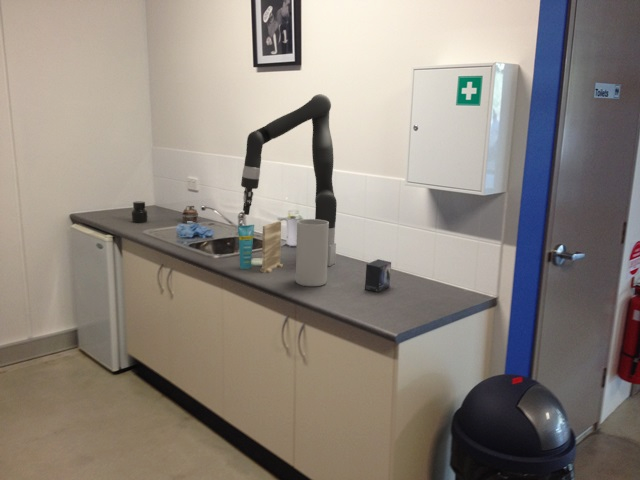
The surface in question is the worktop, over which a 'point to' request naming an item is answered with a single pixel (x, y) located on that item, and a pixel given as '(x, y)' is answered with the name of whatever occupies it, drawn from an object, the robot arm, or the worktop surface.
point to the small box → (377, 275)
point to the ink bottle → (139, 212)
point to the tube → (245, 245)
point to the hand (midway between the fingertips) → (245, 212)
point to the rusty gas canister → (190, 214)
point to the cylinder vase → (312, 252)
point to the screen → (271, 247)
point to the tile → (256, 261)
